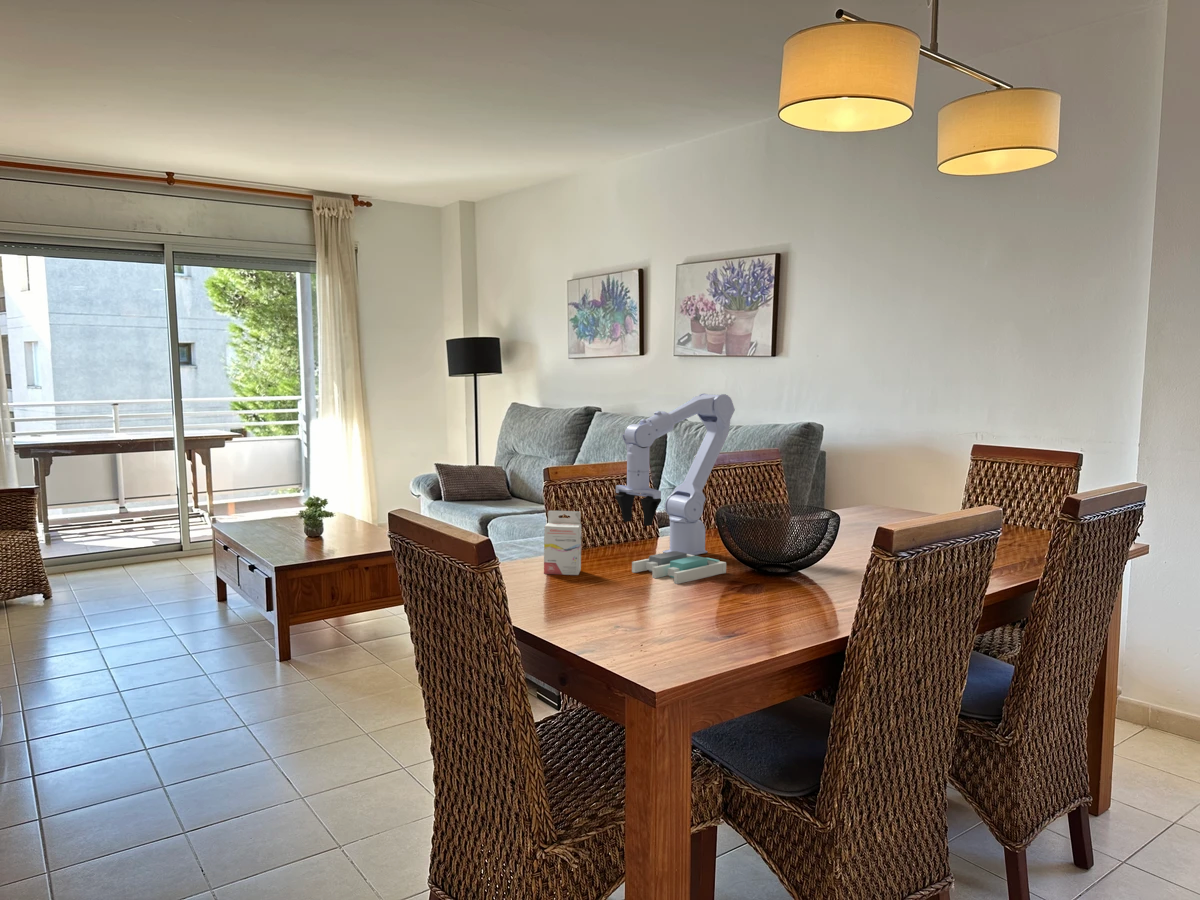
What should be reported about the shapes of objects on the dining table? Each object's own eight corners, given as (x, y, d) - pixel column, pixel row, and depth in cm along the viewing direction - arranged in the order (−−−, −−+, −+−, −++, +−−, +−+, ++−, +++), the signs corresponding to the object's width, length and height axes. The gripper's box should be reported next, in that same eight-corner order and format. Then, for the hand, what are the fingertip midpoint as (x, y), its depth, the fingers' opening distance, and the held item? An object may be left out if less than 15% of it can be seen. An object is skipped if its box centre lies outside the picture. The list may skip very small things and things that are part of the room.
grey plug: (680, 565, 207) (680, 549, 207) (691, 568, 204) (692, 552, 204) (643, 573, 199) (643, 557, 198) (654, 576, 196) (655, 559, 195)
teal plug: (699, 570, 202) (699, 554, 202) (712, 573, 199) (712, 557, 199) (664, 579, 193) (664, 562, 193) (677, 582, 190) (677, 565, 190)
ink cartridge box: (543, 574, 196) (543, 513, 195) (546, 569, 201) (546, 510, 200) (579, 575, 195) (579, 514, 194) (581, 570, 200) (581, 510, 199)
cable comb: (679, 561, 210) (680, 551, 210) (726, 572, 199) (726, 561, 199) (631, 572, 199) (631, 561, 199) (677, 584, 188) (677, 572, 187)
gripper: (607, 469, 213) (607, 521, 214) (647, 474, 203) (646, 529, 204) (626, 467, 218) (626, 518, 219) (667, 472, 207) (666, 525, 209)
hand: (637, 523), depth 212 cm, fingers open, 7 cm apart
